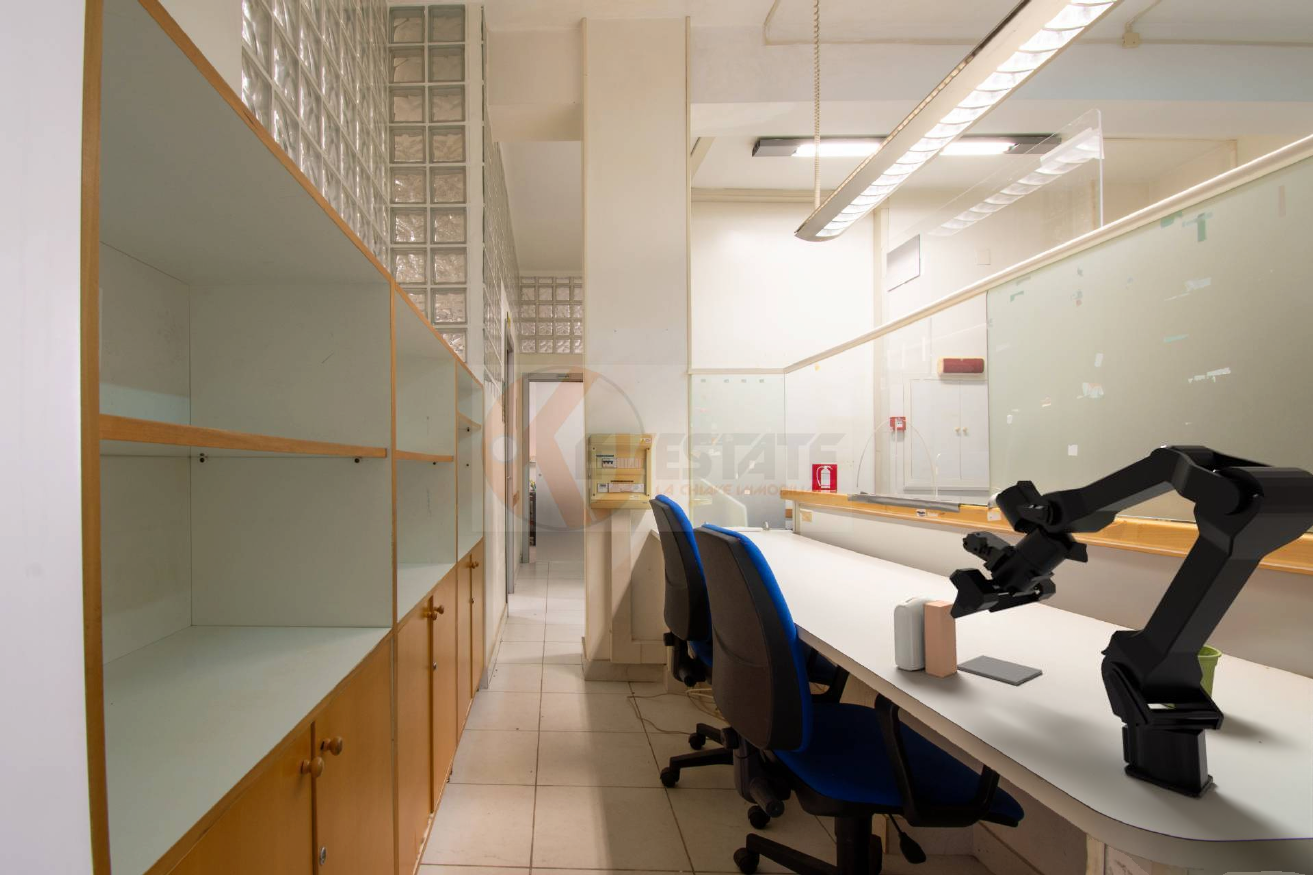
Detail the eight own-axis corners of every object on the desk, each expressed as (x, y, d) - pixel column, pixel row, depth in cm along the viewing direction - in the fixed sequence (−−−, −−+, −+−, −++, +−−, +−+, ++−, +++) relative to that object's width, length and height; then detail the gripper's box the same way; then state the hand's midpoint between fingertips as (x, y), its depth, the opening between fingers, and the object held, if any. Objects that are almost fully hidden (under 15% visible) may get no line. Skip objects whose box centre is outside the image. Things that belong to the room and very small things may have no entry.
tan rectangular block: (957, 671, 99) (954, 603, 100) (942, 677, 97) (940, 606, 97) (940, 666, 102) (938, 599, 103) (925, 672, 99) (923, 603, 100)
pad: (1042, 672, 99) (1041, 669, 99) (1016, 685, 93) (1016, 682, 93) (982, 657, 107) (982, 655, 107) (955, 668, 101) (955, 665, 101)
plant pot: (1197, 721, 79) (1193, 658, 80) (1126, 696, 88) (1122, 640, 89) (1242, 713, 82) (1238, 652, 82) (1168, 689, 91) (1165, 635, 91)
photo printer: (923, 656, 108) (921, 591, 109) (945, 662, 104) (942, 595, 105) (891, 666, 102) (889, 598, 103) (913, 673, 99) (910, 602, 99)
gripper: (1033, 514, 95) (975, 569, 104) (958, 518, 87) (902, 577, 96) (1087, 568, 87) (1019, 623, 96) (1010, 577, 79) (944, 636, 89)
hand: (971, 613), depth 95 cm, fingers open, 9 cm apart
